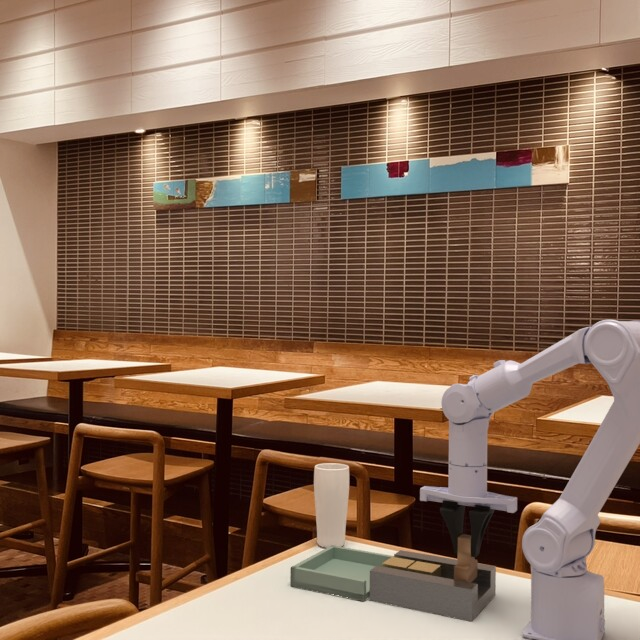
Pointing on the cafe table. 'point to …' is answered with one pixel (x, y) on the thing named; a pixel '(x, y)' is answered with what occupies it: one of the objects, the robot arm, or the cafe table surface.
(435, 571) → the tan square block
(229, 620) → the cafe table surface
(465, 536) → the stepped wooden block
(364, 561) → the tray
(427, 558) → the grey open tray
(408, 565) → the tan wooden square block
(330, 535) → the drinking glass
